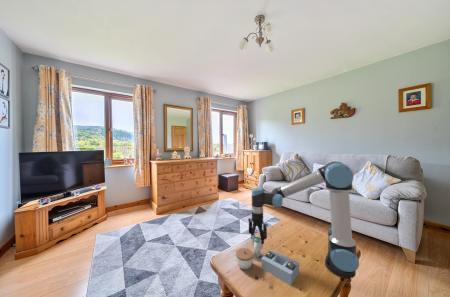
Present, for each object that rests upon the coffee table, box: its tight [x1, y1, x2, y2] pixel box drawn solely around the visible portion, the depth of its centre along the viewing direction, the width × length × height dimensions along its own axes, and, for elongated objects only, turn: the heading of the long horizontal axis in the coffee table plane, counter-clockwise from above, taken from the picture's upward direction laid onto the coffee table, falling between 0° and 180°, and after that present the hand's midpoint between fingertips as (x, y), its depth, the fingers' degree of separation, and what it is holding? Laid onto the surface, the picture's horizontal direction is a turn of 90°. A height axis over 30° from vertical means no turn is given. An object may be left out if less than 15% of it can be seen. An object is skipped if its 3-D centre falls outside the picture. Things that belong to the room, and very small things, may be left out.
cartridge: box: [253, 236, 262, 257], centre depth 109 cm, size 5×5×11 cm
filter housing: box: [260, 249, 300, 286], centre depth 97 cm, size 12×18×6 cm, turn 46°
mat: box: [253, 252, 265, 262], centre depth 109 cm, size 7×7×1 cm
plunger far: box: [266, 251, 272, 259], centre depth 101 cm, size 3×3×4 cm
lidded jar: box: [235, 247, 254, 270], centre depth 101 cm, size 11×11×9 cm
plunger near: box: [288, 262, 294, 271], centre depth 92 cm, size 3×3×4 cm
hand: (257, 246), depth 109 cm, fingers open, 5 cm apart
